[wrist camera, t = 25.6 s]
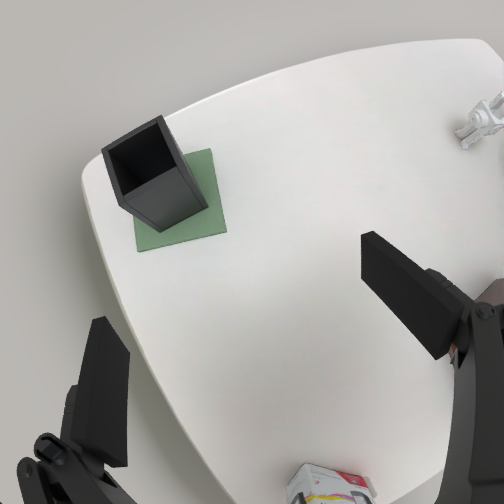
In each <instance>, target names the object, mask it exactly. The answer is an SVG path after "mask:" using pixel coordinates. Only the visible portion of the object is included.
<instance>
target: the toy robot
mask: <svg viewBox="0 0 504 504" xmlns="http://www.w3.org/2000/svg"><path fill="white" fill-rule="evenodd" d="M468 114H469V120H470V122H469V123H468V124H467V125H466V126H465V127H463V128H462V130H456V131H455V134H456V136H457V137H458V138H460V139H462V138H464V137H466V136H467V135H468V134H470V133H471V132H473V131H474V130H475V129H476V128H477V129H476V130H475V131H474V132H473V133H471V134H470V135H469V136H467V137H466V138H464V139H463V140H462V141H461V142H460V144H461V146H462V148H464V149H466V150H467V148H468V147H469V145H471V144H472V143H474V142H476V141H479V140H480V139H481V138H482V136H486V135H493V134H495V133H497V132H498V131H499V130H500V129H501V128H503V127H504V91H502V92H501V93H500V94H499V95H498V96H497V97H496V98H495V99H494V100H481V101H480V102H479V103H478V104H477V105H476V106H475V107H474V108H473V109H472V110H471V111H470V112H469V113H468Z"/></svg>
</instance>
